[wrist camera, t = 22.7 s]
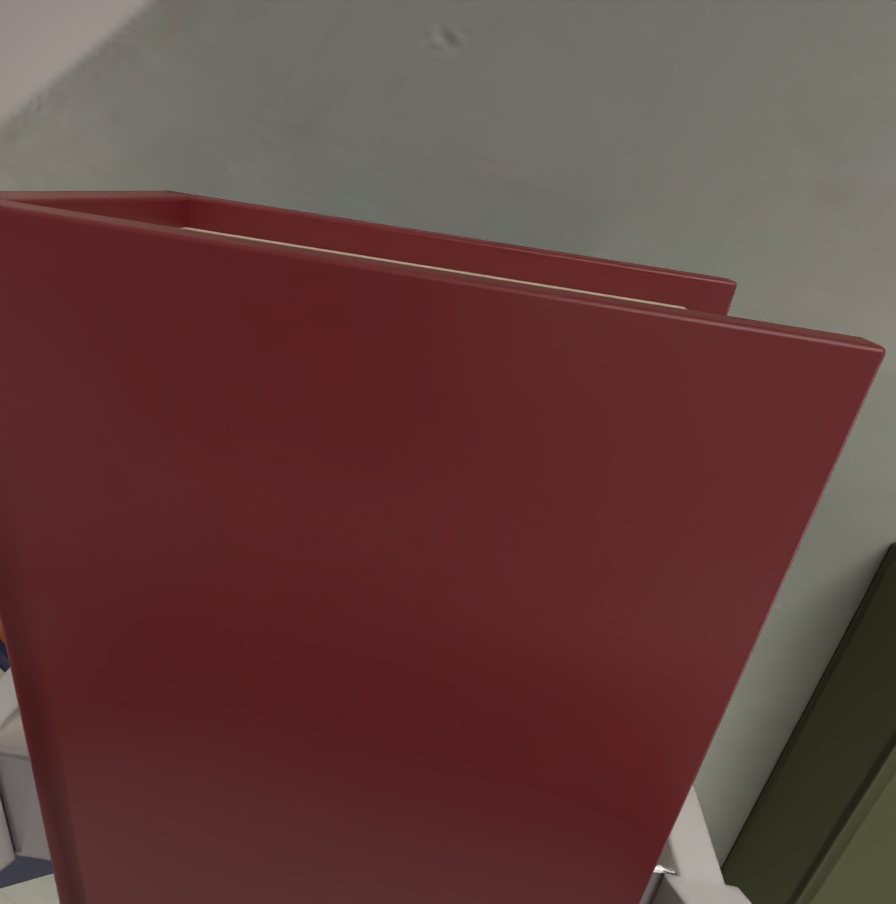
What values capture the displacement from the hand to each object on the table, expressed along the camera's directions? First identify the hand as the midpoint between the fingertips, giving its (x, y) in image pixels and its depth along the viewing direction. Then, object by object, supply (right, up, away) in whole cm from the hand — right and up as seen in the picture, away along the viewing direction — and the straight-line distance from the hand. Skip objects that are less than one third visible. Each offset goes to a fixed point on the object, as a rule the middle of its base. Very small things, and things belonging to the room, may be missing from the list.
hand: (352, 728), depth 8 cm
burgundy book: (0, 0, +1) cm, 1 cm away
